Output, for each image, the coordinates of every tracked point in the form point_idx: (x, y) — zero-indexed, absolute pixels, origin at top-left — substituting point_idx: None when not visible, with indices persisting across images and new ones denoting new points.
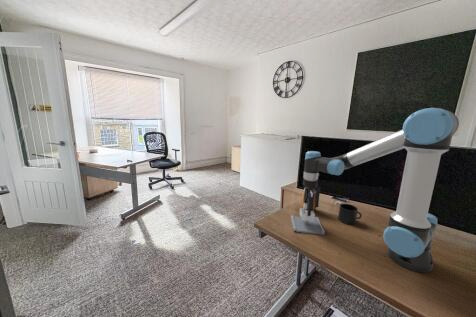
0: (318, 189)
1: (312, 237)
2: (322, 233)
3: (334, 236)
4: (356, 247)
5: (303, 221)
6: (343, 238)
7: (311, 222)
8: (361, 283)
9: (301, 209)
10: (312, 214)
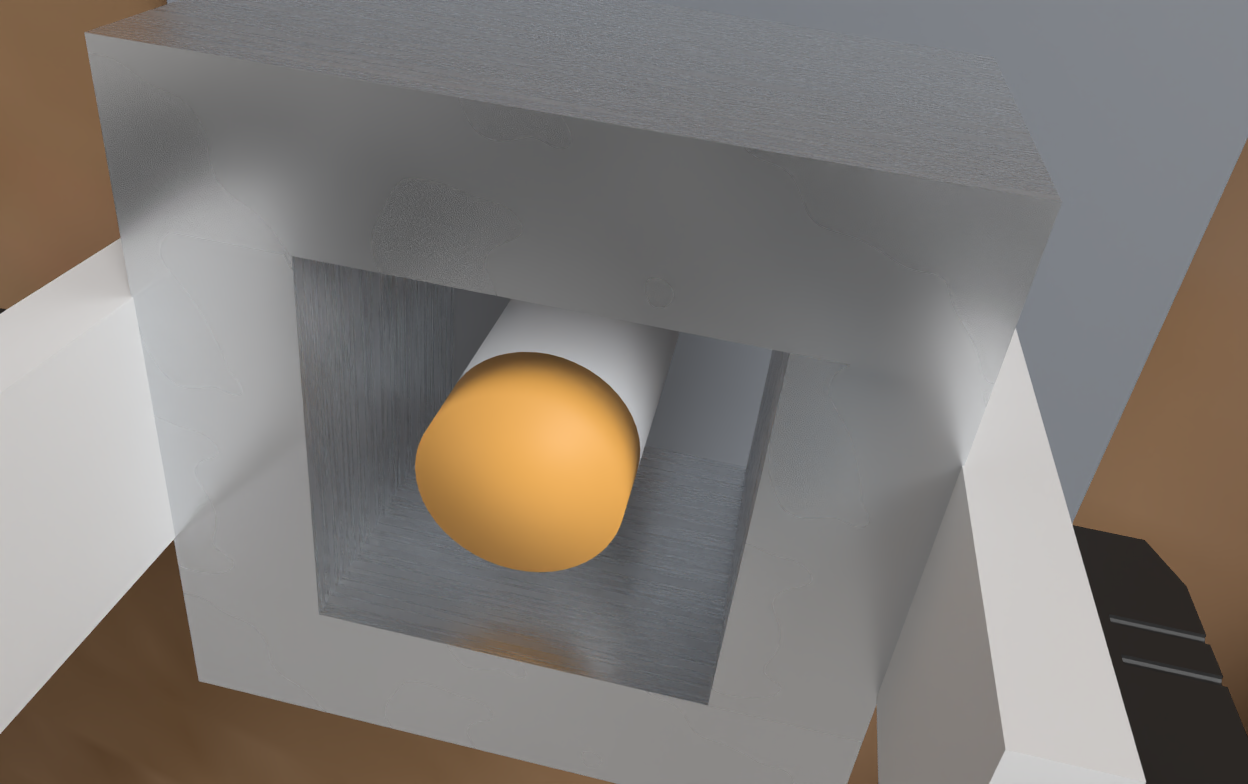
0: None
1: (46, 126)
2: None
3: None
4: (29, 753)
5: None
6: (230, 723)
7: (760, 399)
8: None
9: (707, 209)
10: (191, 585)
